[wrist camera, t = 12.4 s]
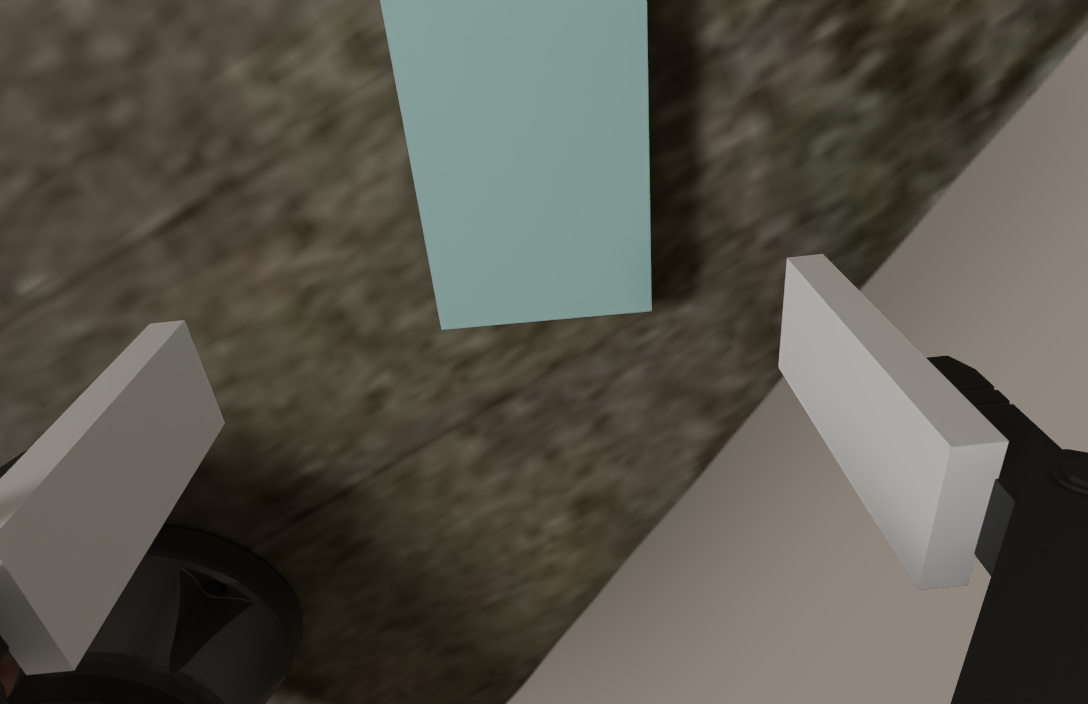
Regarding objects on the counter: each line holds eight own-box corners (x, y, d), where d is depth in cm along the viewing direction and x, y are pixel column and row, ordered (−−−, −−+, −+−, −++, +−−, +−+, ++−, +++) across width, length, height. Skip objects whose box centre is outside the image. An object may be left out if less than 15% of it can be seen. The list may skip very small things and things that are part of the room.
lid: (448, 300, 35) (441, 329, 32) (372, -128, 26) (355, -135, 24) (642, 283, 35) (651, 310, 32) (632, -156, 26) (644, -166, 23)
